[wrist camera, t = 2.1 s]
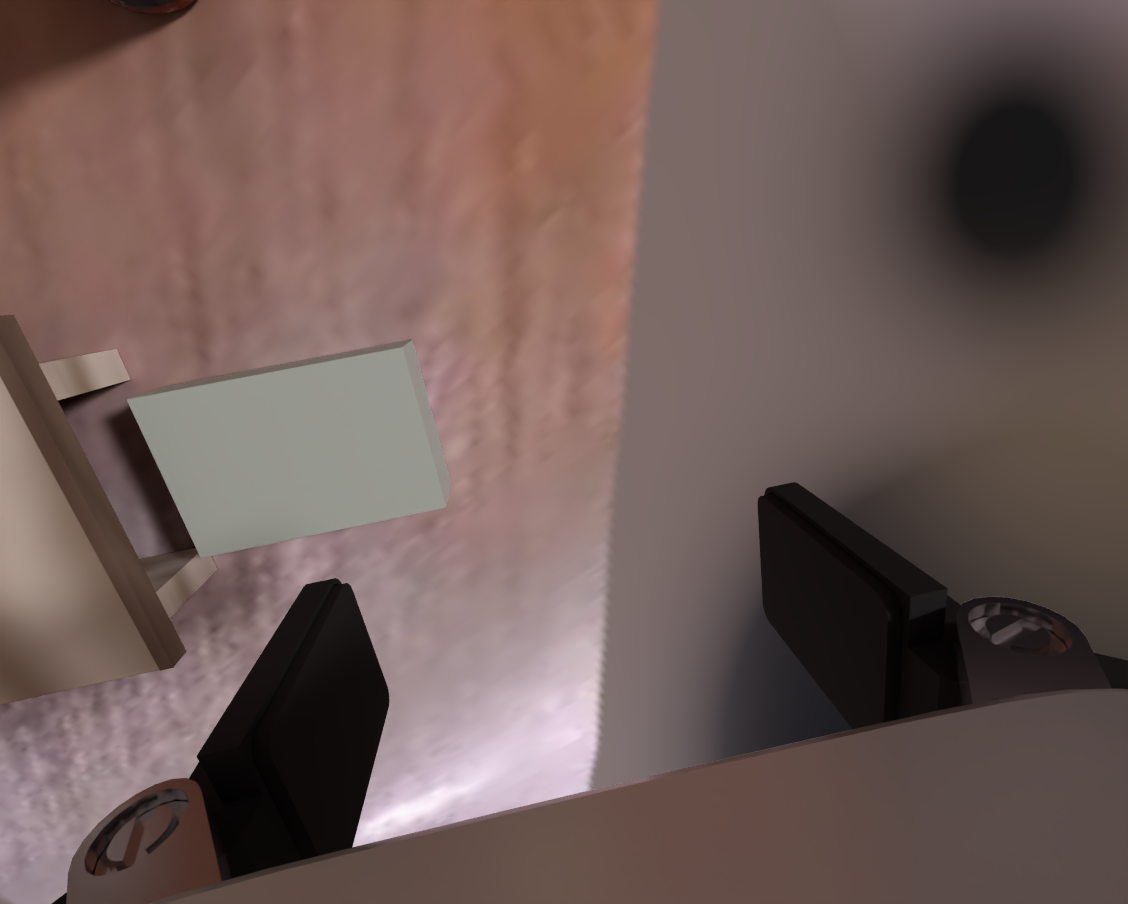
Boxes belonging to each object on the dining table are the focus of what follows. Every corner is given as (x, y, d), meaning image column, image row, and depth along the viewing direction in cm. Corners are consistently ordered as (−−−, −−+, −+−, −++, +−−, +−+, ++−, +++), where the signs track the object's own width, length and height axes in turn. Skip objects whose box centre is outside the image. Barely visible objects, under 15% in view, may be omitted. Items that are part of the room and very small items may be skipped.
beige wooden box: (97, 307, 24) (-13, 317, 19) (230, 598, 30) (173, 667, 24) (-178, 357, 24) (-371, 381, 18) (9, 644, 29) (-99, 726, 24)
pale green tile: (167, 385, 26) (126, 399, 23) (412, 339, 26) (402, 347, 23) (230, 529, 28) (200, 558, 25) (451, 484, 29) (446, 507, 26)
